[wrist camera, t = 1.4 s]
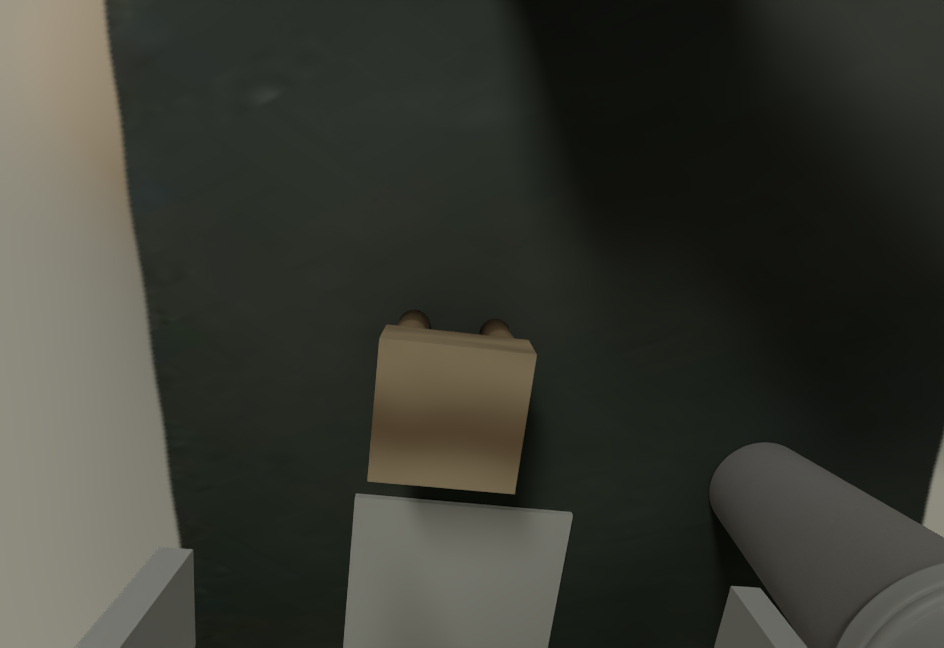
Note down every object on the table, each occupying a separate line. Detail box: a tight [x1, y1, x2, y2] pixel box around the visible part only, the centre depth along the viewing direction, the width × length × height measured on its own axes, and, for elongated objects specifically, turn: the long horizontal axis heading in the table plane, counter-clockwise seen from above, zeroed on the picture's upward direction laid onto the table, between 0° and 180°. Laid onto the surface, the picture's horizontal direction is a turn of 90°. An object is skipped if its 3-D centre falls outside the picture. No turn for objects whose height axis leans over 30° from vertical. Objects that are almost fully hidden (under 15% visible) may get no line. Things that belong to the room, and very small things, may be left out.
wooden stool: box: [367, 310, 537, 494], centre depth 27 cm, size 7×7×8 cm
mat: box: [343, 493, 573, 648], centre depth 34 cm, size 18×14×1 cm
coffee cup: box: [709, 442, 944, 648], centre depth 26 cm, size 10×10×15 cm
